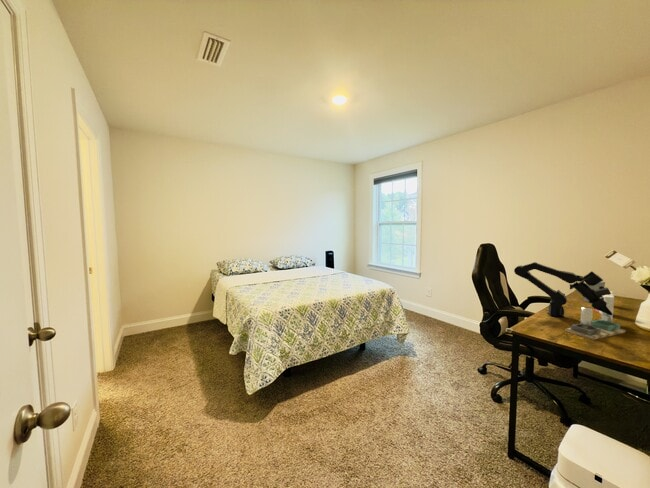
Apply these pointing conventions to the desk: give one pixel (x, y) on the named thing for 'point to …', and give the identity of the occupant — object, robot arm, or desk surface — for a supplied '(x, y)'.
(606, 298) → the ink cartridge box
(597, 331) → the pallet
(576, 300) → the desk surface
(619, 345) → the desk surface
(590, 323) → the block
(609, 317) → the billet
